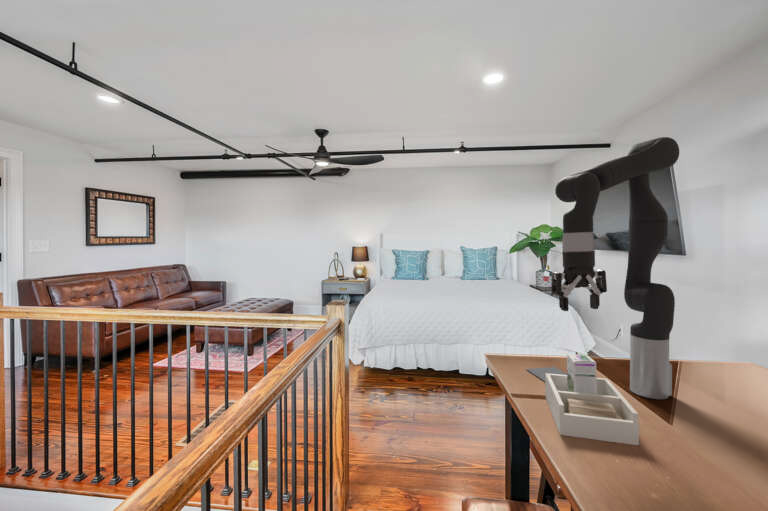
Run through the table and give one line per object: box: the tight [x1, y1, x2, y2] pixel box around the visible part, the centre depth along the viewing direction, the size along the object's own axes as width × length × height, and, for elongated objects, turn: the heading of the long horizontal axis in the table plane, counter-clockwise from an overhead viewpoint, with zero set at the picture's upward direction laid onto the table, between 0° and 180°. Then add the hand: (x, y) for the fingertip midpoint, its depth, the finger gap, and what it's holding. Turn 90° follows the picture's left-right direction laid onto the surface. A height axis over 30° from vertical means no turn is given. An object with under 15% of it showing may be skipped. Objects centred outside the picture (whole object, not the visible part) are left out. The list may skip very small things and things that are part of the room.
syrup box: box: [566, 353, 597, 394], centre depth 92 cm, size 6×6×14 cm
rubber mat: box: [525, 366, 567, 383], centre depth 117 cm, size 11×11×1 cm
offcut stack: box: [567, 399, 623, 420], centre depth 82 cm, size 5×12×6 cm, turn 73°
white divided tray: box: [544, 373, 640, 446], centre depth 88 cm, size 21×16×7 cm
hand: (579, 309), depth 91 cm, fingers open, 8 cm apart
